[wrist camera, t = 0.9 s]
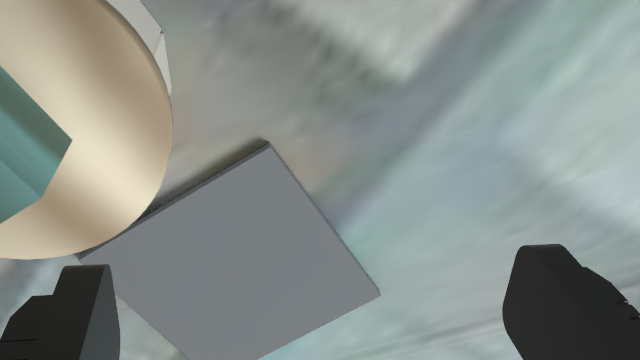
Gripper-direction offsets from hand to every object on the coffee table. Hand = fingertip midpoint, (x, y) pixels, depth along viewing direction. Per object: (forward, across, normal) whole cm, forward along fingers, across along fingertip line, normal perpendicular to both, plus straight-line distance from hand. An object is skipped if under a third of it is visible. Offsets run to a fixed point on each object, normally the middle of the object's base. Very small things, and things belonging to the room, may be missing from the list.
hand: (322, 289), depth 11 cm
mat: (+22, +1, +17) cm, 28 cm away
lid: (+16, +11, +3) cm, 19 cm away
